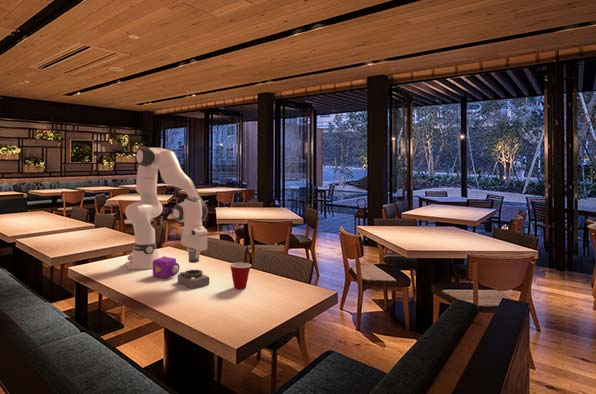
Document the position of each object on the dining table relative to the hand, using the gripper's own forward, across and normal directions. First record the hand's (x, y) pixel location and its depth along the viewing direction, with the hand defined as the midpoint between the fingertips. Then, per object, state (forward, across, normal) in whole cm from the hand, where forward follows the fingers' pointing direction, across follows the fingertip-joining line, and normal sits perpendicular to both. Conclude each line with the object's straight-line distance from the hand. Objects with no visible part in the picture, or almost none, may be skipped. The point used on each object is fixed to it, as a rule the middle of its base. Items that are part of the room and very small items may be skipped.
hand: (193, 256), depth 189 cm
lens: (+3, 0, 0) cm, 3 cm away
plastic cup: (+14, +21, +14) cm, 29 cm away
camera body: (+14, 0, 0) cm, 14 cm away
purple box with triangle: (+14, -21, -4) cm, 26 cm away
